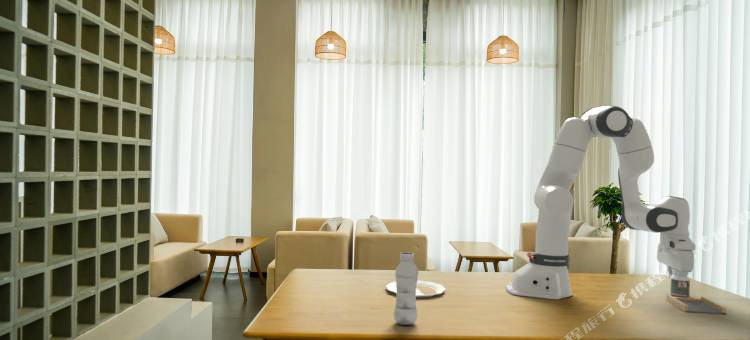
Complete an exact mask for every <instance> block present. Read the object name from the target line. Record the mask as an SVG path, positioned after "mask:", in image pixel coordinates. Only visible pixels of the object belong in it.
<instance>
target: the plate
mask: <svg viewBox="0 0 750 340" xmlns="http://www.w3.org/2000/svg"><path fill="white" fill-rule="evenodd" d="M418 287H424V288H425V287H426V288H430V289H433V290H434V291H435V293H431V294H424V293H423V292H421V290H420V289H418ZM385 288H387V291H389V292H391V293H394V294H396V295H397V287H396V281H391V282H390V283H388V284H386V285H385ZM445 291H446V287H444V286H443V285H442V284H439V283H436V282H433V281H426V280H418V279H417V285H416V298H430V297H434V296H436V295H441V294H442V293H444V292H445Z"/></svg>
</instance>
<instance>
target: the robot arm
mask: <svg viewBox="0 0 750 340" xmlns="http://www.w3.org/2000/svg"><path fill="white" fill-rule="evenodd" d="M595 137H596V138H601V139H602V138H611V139H612V141H613V143H614V144H615V149H616V152H617V157H618V164H619V166H618V169H617V176H618V177H617V178H618V186H619V192H620V198H621V199H620V200H621V212H620V217H621V220H622V223H623V225H624V226H625V227H626V228H627V229H630V230H634V231H644V232H649V233H653V234H654V233H656V234H657V233H660V235H659V237H660V238H659V242H658V244H657V251H656V259H657V262H659V263H661V264H664V265H665V266H667V267H666V268H667V272H668V278H669V279H670V280H671V276H672V275H673V269H676V270H679V271H681V272H688V273H692V272H693V269H694V264H695V263H694V262H695V254H694V251H696V244H695V243H694V242H693V241H692V240H691V238H690V231H689V225H690V222H691V218H690V216H691V213H690V205H689V202H688V200H686V198H683V197H679V196H678V197H677V196H674V195H673V196H672V195H665V196H663V198H662V199H661V200H659V201H658V202H655V203H652V204H645V203H643V202H642V201H641V197H640V192H639V184H638V182H639V181H638V180H639V177H640V176H641V175H643V174H644V173H646V172H648V171H649V170H650V169H651V167H652V166H653V164H654V162H655V154H654V149H653V145H652V141H651V139H650V136H649V133H648V131H647V129H646V127H645V125H644V123H643V121H642V120H641V119H638V118H635V117H634V118H632V117H631V116H630V115H629V114H628V112H627V111H626V109H624V108H622V107H620V106H616V105H607V106H606V105H602V106H601V105H600V106H597V107H593V108H592V107H591V108H588V109H587V110H585V111H584V112H583V113H582V114H581V115H580V116H579V117H569V118H567V119H566V120H564V121H563V124H561V127H560V128H559V131H558V133H557V135H556V137H555V141H554V143H553V146H552V149H551V153H550V156H549V158H548V160H547V165H546V167H545V168H544V171H543V173H542V175H541V178H540V180H539V182H538V185H537V187H536V190H535V192H534V196H533V200H534V204H535V207H536V208H537V209H538V215H537V217H538V218H537V224H536V230H535V248H534V249H535V251H534V252H532V251H527V252H526V256H527V258H529V259H528V261H529V262H528V263H526V264H525V265H523V266H521V267H520V268H519V269H516V270H515V272H514V274H513V277H512V281H511V282H509V283H507V284H506V286H505V289H506V291H507V292H508V293H509V294H511V295H515V296H522V297H531V298H540V299H548V300H549V299H551V300H560V299H564V298H568V297H571V296H573V293H572V290H571V289H572V288H571V284H570V278H569V269H570V254H569V235H570V234H569V233H570V232H569V231H570V226H571V222H572V221H571V220H572V214H573V207H574V202H575V199H574V197H573V195H572V192H571V189H572V187H573V184H574V182H575V180H576V178H577V177H578V175H579V174H580V171H581V168H582V165H583V162H584V160H585V156H586V153H587V151H588V148H589V147H588V146H589V144H590V142H591V140H593V138H595Z"/></svg>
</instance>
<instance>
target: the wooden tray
mask: <svg viewBox="0 0 750 340" xmlns="http://www.w3.org/2000/svg"><path fill="white" fill-rule="evenodd" d="M665 300H667V301H666V302H668V301H669V302H668V303H670V304H671V303H672V305H673V306H674V305H675V306H674V307H677V308H678V309H679V310H681V311H682V312H684V313H699V314H715V315H717V314H718V315H727V307H725V306H723V305H721V304H719V303H717V302H716V301H714V300H711V299H710V298H708V297H706V296H701V298H698V297H689V298H684V297H672V296H671V295H670V294H666V295H665Z"/></svg>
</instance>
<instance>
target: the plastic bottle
mask: <svg viewBox="0 0 750 340" xmlns="http://www.w3.org/2000/svg"><path fill="white" fill-rule="evenodd" d="M399 255H400V256H399V260H400V262H399V264H398V265H397V267H396V268H395V271H394V274H395V282H396V287H397V294H396V298H395V306H394V309H393V310H394V311H393V318H394V319H393V320H394V321H395V323H396V324H398V325H401V326H403V325H404V326H409V325H413V324H415V323H416V322H417V320H418V308H417V301H416V300H417V297H416V288H417V286H416V285H417V280H418V279H419V270H418V269H419V268H418V267H417V266H416V264H415V263H414V261H415V258H414V252H408V251H407V252H406V251H405V252H400V254H399Z"/></svg>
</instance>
